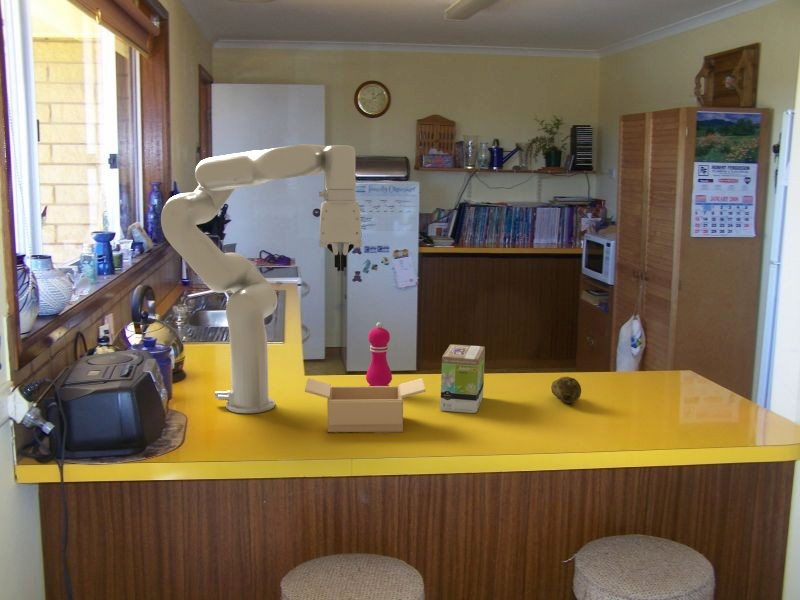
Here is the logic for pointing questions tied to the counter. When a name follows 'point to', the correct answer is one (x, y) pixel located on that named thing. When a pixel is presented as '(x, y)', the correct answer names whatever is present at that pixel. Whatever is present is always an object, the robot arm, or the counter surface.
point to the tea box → (462, 378)
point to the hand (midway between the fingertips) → (340, 270)
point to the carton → (365, 409)
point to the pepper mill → (379, 357)
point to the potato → (566, 389)
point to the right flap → (412, 388)
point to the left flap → (318, 388)
